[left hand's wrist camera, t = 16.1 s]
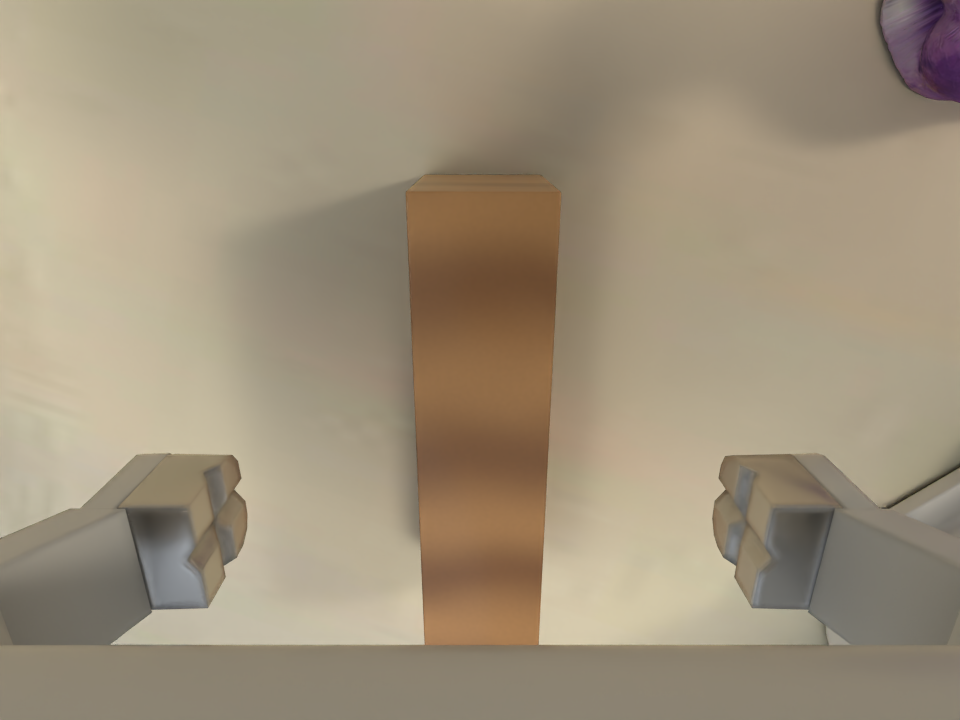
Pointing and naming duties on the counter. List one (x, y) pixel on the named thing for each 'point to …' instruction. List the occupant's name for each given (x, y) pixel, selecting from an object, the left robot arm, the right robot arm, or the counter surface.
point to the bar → (482, 398)
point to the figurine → (925, 44)
